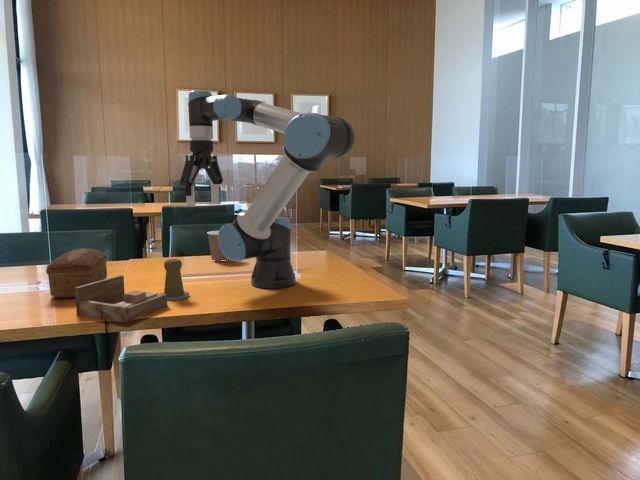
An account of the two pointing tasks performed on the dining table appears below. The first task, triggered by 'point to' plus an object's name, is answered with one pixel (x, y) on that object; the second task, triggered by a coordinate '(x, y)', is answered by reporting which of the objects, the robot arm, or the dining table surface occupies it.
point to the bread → (75, 271)
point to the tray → (112, 301)
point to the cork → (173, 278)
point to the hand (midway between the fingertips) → (203, 204)
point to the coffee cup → (215, 246)
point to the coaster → (177, 297)
